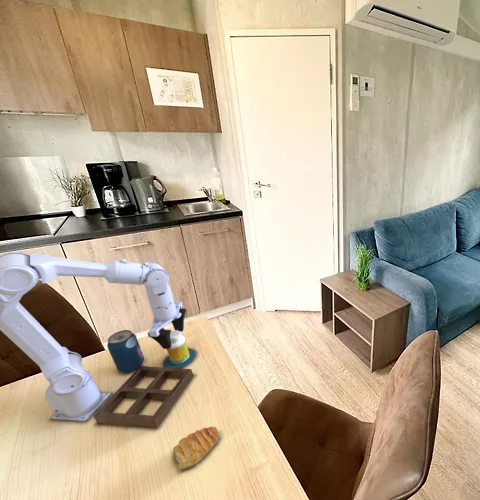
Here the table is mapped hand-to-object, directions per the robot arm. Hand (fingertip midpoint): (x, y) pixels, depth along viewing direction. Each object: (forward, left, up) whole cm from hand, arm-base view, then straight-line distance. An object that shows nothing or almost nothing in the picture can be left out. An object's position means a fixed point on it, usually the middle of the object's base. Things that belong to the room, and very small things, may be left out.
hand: (173, 339), depth 88 cm
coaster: (0, 0, -8) cm, 8 cm away
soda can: (-13, -4, -8) cm, 16 cm away
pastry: (+21, -27, -8) cm, 35 cm away
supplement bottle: (0, 0, -8) cm, 8 cm away
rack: (0, -14, -8) cm, 16 cm away
